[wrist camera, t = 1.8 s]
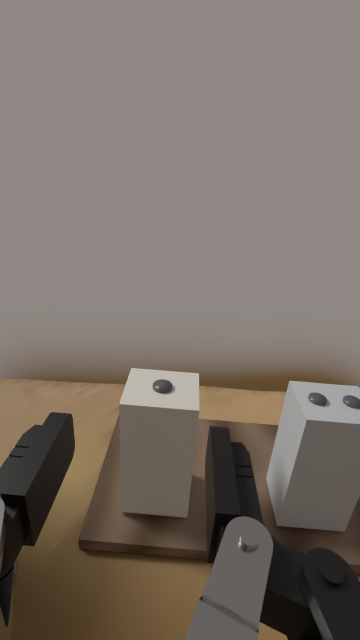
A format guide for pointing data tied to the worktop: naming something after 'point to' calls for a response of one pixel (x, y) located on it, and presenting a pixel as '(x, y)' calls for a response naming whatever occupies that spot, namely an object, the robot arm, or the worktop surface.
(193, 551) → the tile board
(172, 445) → the tile one dot
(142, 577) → the worktop surface
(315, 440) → the tile two dots
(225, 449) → the robot arm
